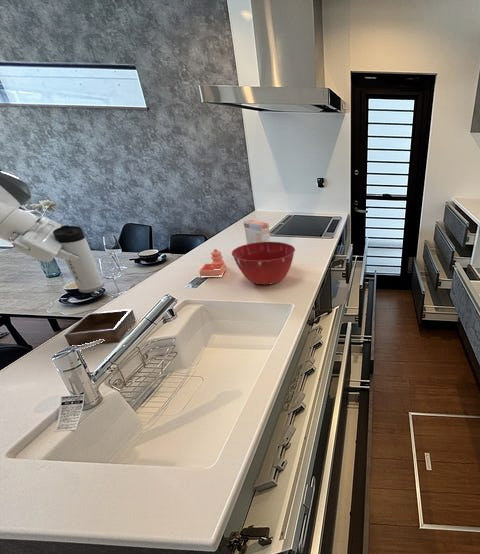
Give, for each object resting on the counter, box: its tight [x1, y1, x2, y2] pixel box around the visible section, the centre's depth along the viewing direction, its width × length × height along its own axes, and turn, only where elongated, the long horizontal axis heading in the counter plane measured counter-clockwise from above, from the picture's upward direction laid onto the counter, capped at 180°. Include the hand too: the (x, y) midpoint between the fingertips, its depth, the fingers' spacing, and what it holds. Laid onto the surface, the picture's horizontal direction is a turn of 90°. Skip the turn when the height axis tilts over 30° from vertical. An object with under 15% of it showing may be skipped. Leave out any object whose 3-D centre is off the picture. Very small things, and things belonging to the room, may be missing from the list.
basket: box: [64, 308, 137, 348], centre depth 104 cm, size 14×14×5 cm
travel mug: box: [53, 224, 105, 294], centre depth 92 cm, size 6×7×20 cm
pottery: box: [199, 248, 226, 278], centre depth 155 cm, size 18×10×10 cm, turn 11°
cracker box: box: [243, 219, 271, 244], centre depth 173 cm, size 14×6×21 cm, turn 59°
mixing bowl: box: [231, 241, 296, 285], centre depth 146 cm, size 28×28×15 cm
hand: (80, 254), depth 92 cm, fingers closed on travel mug, 6 cm apart
